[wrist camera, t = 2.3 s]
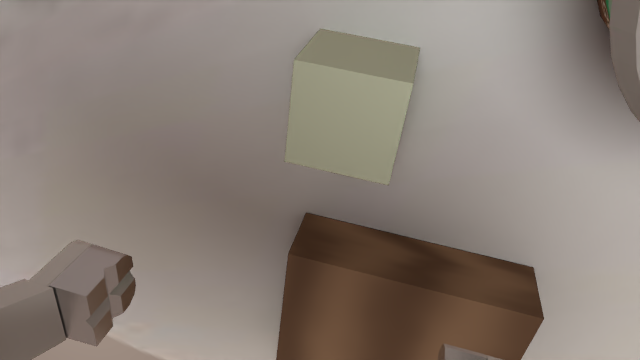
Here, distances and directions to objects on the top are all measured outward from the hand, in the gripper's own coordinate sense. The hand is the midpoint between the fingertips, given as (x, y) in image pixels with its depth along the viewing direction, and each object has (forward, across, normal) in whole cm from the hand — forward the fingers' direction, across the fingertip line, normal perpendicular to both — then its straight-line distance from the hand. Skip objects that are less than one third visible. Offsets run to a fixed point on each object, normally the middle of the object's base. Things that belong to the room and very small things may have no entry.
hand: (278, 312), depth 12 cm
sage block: (+16, +1, 0) cm, 16 cm away
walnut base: (+16, -4, +16) cm, 23 cm away
